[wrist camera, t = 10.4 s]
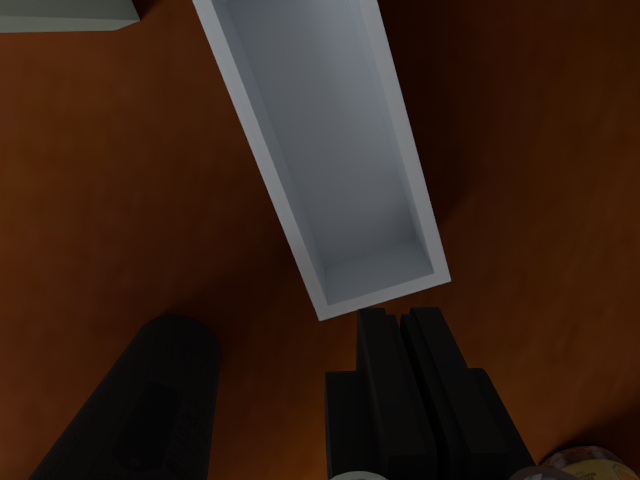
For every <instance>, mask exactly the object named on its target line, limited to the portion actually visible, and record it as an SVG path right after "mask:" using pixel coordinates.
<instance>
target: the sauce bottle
mask: <svg viewBox="0 0 640 480" xmlns="http://www.w3.org/2000/svg"><path fill="white" fill-rule="evenodd" d="M540 466H546V467H551V468H556V469H560V470H563V471H565V472H567V473H570V474H572V475H574V476H576V477H578V478H579V479H581V480H639V478H638V477H637V476H636V474H635V473H634V472H633V471H632V470H631V469H630V468H628V467H626V466H625V465H624V464H623V462H622V461H621V460H620V459H619V458H618V457H617V456H616V455H615V454H613V453H612V452H611V451H609V450H607V449H605V448H603V447H600V446H596V445H594V446H574V447H571V448H568V449H564V450H561V451H560V452H557V453H555V454H554V455H552V456H551V457H549V458H547V459H546V460H545V461H544V462H543V463H542V464H541V465H540Z"/></svg>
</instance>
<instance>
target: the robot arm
mask: <svg viewBox="0 0 640 480" xmlns="http://www.w3.org/2000/svg"><path fill="white" fill-rule="evenodd" d="M325 434H326V455H327V473H328V480H581V479H579V478H578V477H576V476H574V475H572V474H570V473H567V472H565V471H563V470H560V469H556V468H551V467H546V466H536V465H535V463H534V461H533V459H532V457H531V455H530V453H529V451H528V450H527V448H526V446H525V444H524V442H523V440H522V438H521V436H520V435H519V433H518V431H517V429H516V427H515V425H514V423H513V421H512V419H511V418H510V416H509V414H508V412H507V410H506V408H505V406H504V404H503V403H502V401H501V399H500V397H499V395H498V393H497V391H496V389H495V388H494V386H493V384H492V382H491V380H490V378H489V376H488V375H487V373H486V372H485V370H483V369H482V368H468V367H467V364H466V362H465V360H464V358H463V356H462V354H461V352H460V350H459V348H458V346H457V344H456V342H455V340H454V338H453V336H452V334H451V332H450V330H449V327H448V325H447V323H446V321H445V319H444V317H443V315H442V313H441V311H440V309H439V308H438V307H412V308H411V309H410V314H402V315H401V321H400V329H399V326H398V323H397V320H396V317H395V315H386V311H385V309H384V308H363V309H358V313H357V348H356V371H337V372H325Z"/></svg>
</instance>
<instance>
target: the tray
mask: <svg viewBox="0 0 640 480" xmlns="http://www.w3.org/2000/svg"><path fill="white" fill-rule="evenodd" d="M192 1H193V3H194V6H195V8H196V11H197V13H198V16H199V18H200V21H201V23H202V26H203V28H204V31H205V34H206V36H207V39H208V41H209V44H210V46H211V49H212V51H213V54H214V56H215V59H216V61H217V64H218V66H219V69H220V71H221V74H222V76H223V79H224V81H225V84H226V87H227V89H228V92H229V94H230V97H231V99H232V102H233V104H234V107H235V109H236V112H237V114H238V117H239V119H240V122H241V124H242V127H243V129H244V132H245V134H246V137H247V139H248V142H249V145H250V147H251V150H252V152H253V155H254V157H255V160H256V162H257V165H258V167H259V170H260V172H261V175H262V177H263V180H264V182H265V185H266V187H267V190H268V192H269V195H270V197H271V200H272V203H273V205H274V208H275V210H276V213H277V215H278V218H279V220H280V223H281V225H282V228H283V230H284V233H285V235H286V238H287V240H288V243H289V245H290V248H291V250H292V253H293V256H294V258H295V261H296V263H297V266H298V268H299V271H300V273H301V276H302V278H303V281H304V283H305V286H306V288H307V291H308V293H309V296H310V298H311V301H312V303H313V306H314V308H315V311H316V314H317V316H318V319H319V321H322V320H325V319H329V318H332V317H335V316H338V315H342V314H345V313H348V312H352V311H355V310H358V309H361V308H365V307H368V306H371V305H375V304H378V303H381V302H384V301H388V300H391V299H394V298H397V297H401V296H404V295H407V294H411V293H414V292H417V291H420V290H424V289H427V288H430V287H434V286H437V285H440V284H443V283H447V282H450V281H451V278H450V274H449V270H448V266H447V263H446V259H445V255H444V251H443V248H442V244H441V240H440V236H439V233H438V229H437V225H436V221H435V217H434V214H433V210H432V206H431V202H430V199H429V195H428V191H427V187H426V184H425V180H424V176H423V172H422V168H421V165H420V161H419V157H418V153H417V150H416V146H415V142H414V138H413V134H412V131H411V127H410V123H409V119H408V116H407V112H406V108H405V104H404V101H403V97H402V93H401V89H400V85H399V82H398V78H397V74H396V70H395V67H394V63H393V59H392V55H391V52H390V48H389V44H388V40H387V36H386V33H385V29H384V25H383V21H382V18H381V14H380V10H379V6H378V3H377V0H192Z"/></svg>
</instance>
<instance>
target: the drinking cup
mask: <svg viewBox="0 0 640 480" xmlns="http://www.w3.org/2000/svg"><path fill="white" fill-rule="evenodd" d="M220 359H221V352H220V347H219V344H218V342H217V340H216V338H215V336H214V335H213V334H212V332H211V331H210V330H209V329H208V328H206V327H205V326H204V325H202V324H201V323H199V322H197V321H195V320H193V319H190V318H186V317H181V316H165V317H161V318H157V319H155V320H152V321H150V322H149V323H147V324H146V325H145V326H143V327H142V328H141V329H140V331H139V332H138V333H137V335H136V336H135V337H134V339H133V340H132V341H131V343H130V344H129V345H128V347H127V348H126V349H125V351H124V352H123V353H122V355H121V356H120V357H119V359H118V360H117V361H116V363H115V364H114V365H113V367H112V368H111V369H110V371H109V372H108V373H107V375H106V376H105V377H104V379H103V380H102V381H101V383H100V384H99V385H98V387H97V388H96V389H95V391H94V392H93V393H92V395H91V396H90V397H89V399H88V400H87V401H86V403H85V404H84V405H83V407H82V408H81V409H80V411H79V412H78V413H77V415H76V416H75V417H74V419H73V420H72V421H71V423H70V424H69V425H68V427H67V428H66V429H65V431H64V432H63V433H62V435H61V436H60V437H59V439H58V440H57V441H56V443H55V444H54V445H53V447H52V448H51V449H50V451H49V452H48V453H47V455H46V456H45V457H44V459H43V460H42V461H41V463H40V464H39V465H38V467H37V468H36V469H35V471H34V472H33V473H32V475H31V476H30V477H29V479H28V480H207V475H208V466H209V457H210V448H211V439H212V431H213V422H214V413H215V404H216V395H217V386H218V377H219V368H220Z"/></svg>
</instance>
